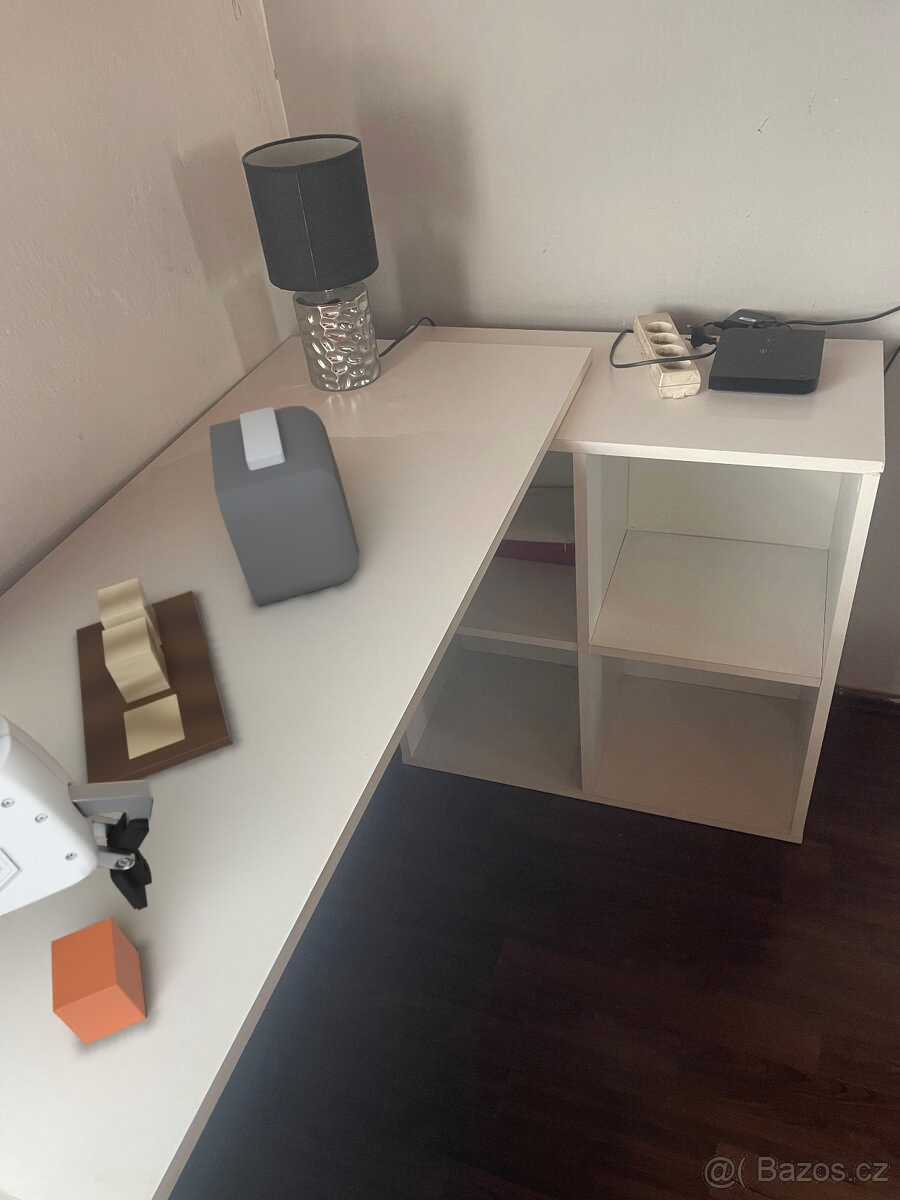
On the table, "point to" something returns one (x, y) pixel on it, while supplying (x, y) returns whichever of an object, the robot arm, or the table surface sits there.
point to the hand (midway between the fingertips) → (62, 921)
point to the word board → (152, 702)
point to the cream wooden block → (135, 659)
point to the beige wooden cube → (126, 605)
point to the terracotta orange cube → (97, 981)
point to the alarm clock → (283, 502)
